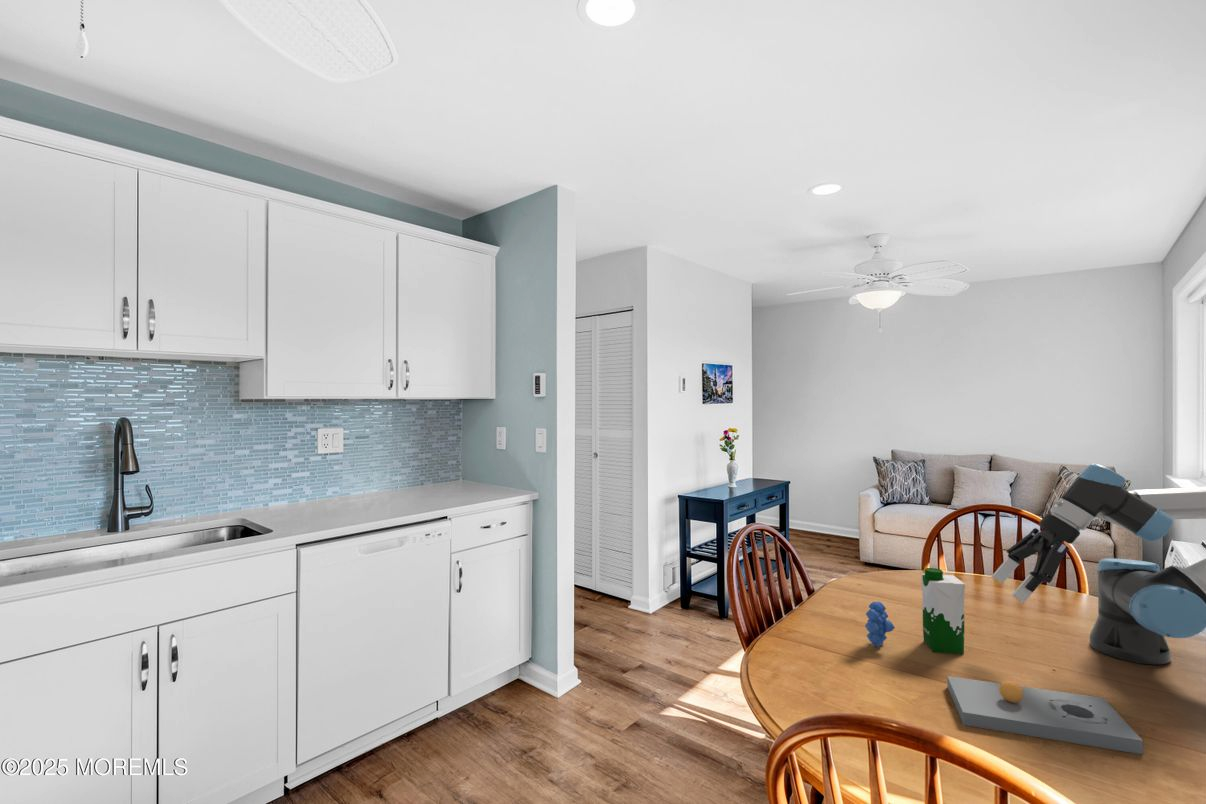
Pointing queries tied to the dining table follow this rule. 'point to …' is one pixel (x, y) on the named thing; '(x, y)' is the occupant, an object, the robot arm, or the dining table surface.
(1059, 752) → the dining table surface
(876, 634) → the grapes
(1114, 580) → the robot arm
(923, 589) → the milk carton
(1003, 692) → the ball
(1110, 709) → the plate
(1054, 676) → the dining table surface
